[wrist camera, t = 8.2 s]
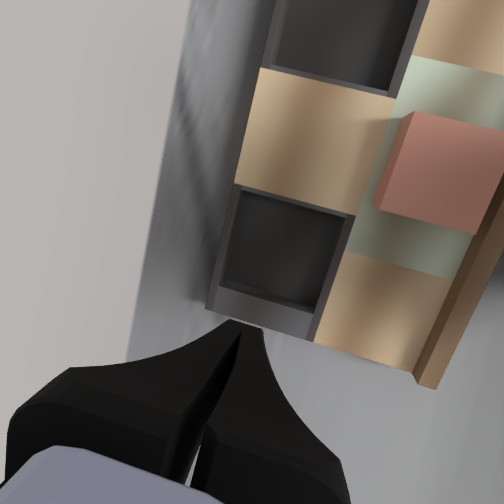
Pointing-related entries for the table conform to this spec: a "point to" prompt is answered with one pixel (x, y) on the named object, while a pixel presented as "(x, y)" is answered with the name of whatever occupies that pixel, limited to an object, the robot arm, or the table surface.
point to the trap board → (360, 180)
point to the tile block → (441, 171)
